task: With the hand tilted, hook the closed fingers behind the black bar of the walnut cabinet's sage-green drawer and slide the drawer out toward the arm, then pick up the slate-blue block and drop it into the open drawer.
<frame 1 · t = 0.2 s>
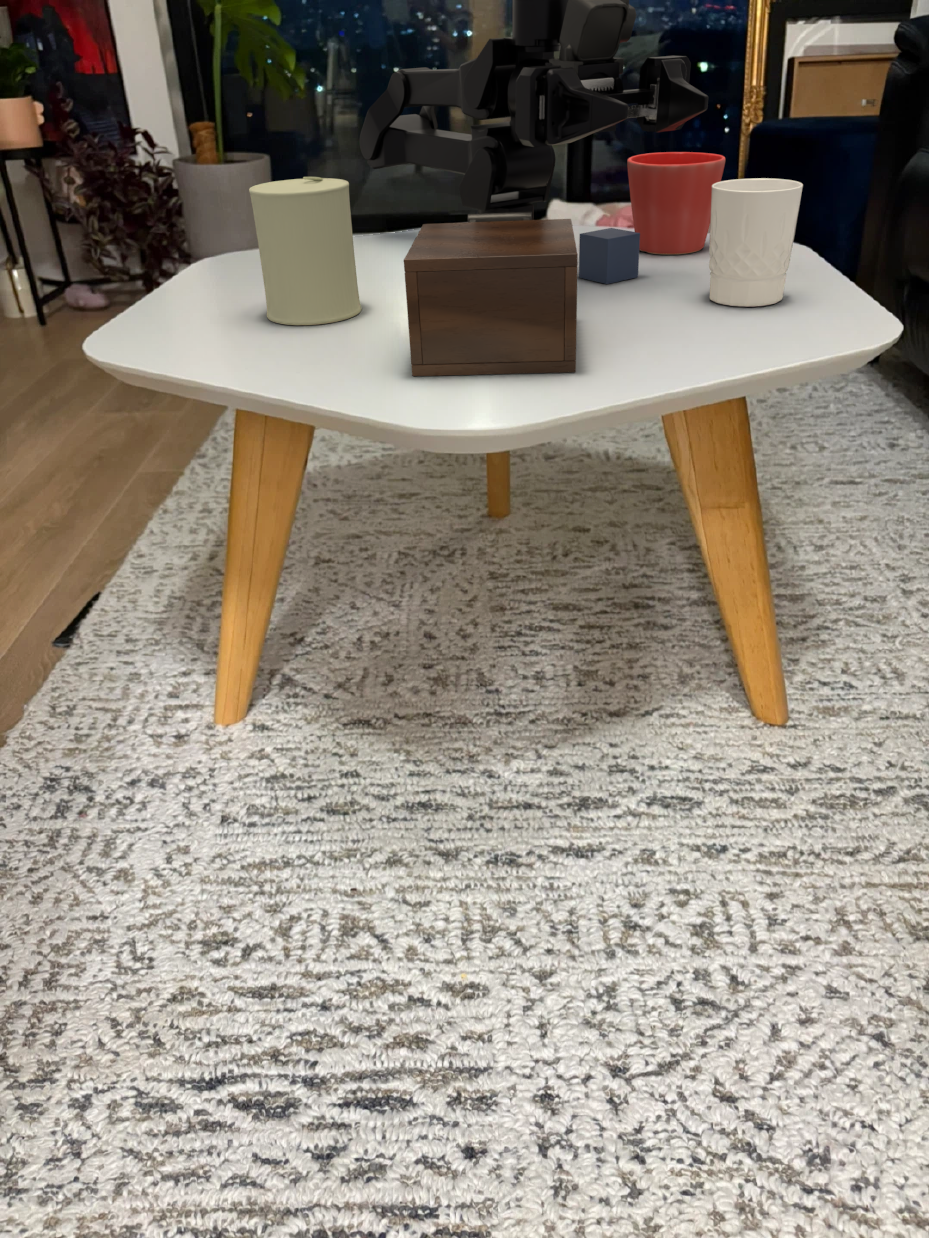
hand: (667, 107, 84), 17 cm above the table, tool horizontal, fingers open, 9 cm apart
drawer: (497, 272, 86), point 5 cm above the table, slide at 3.0 cm
cabinet: (496, 347, 82), on the table
white cup: (744, 300, 93), on the table
can: (314, 315, 95), on the table
flower pot: (670, 250, 114), on the table
block: (608, 277, 103), on the table
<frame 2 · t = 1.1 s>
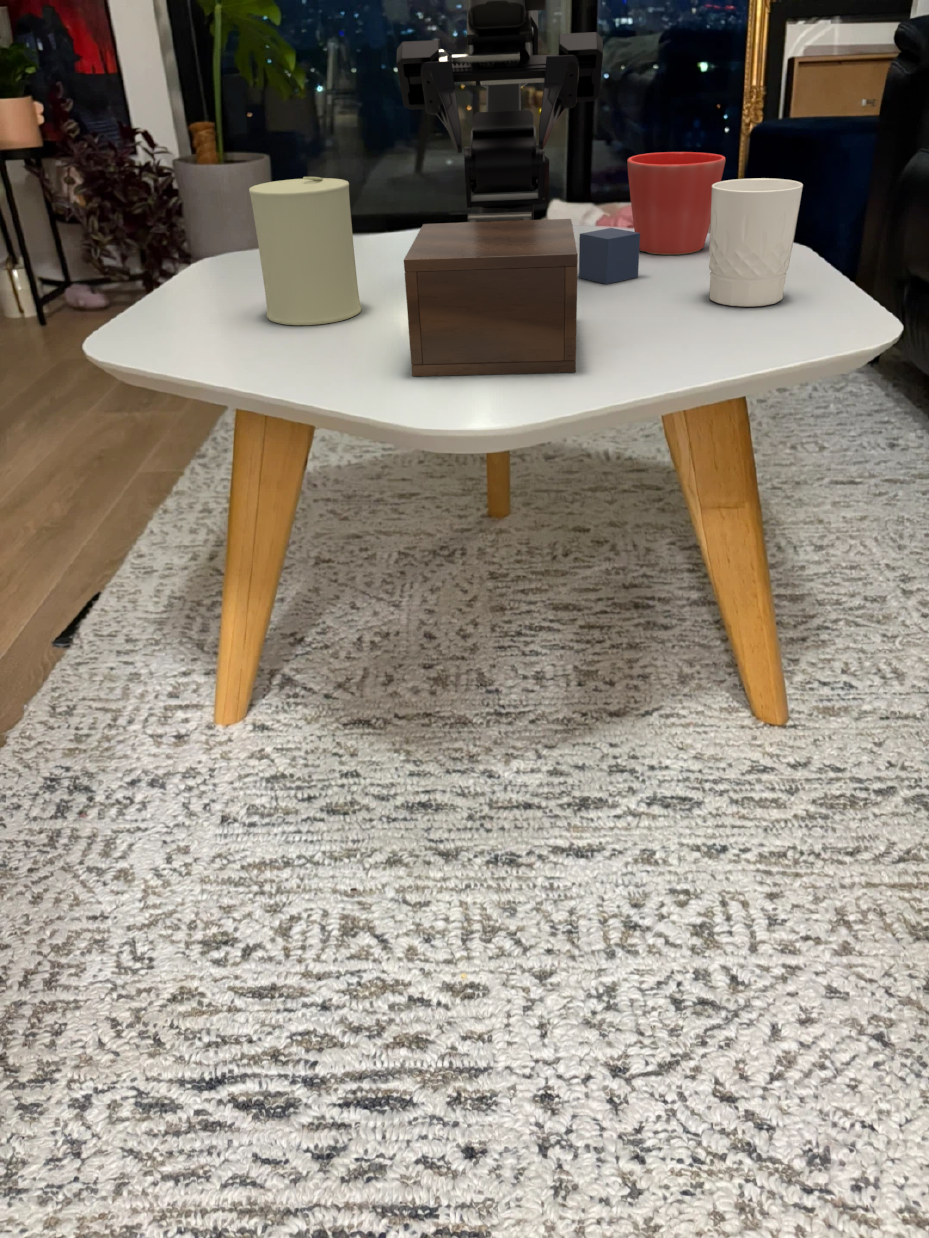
hand: (500, 148, 89), 14 cm above the table, tool tilted 45°, fingers open, 7 cm apart
nothing on the table moved.
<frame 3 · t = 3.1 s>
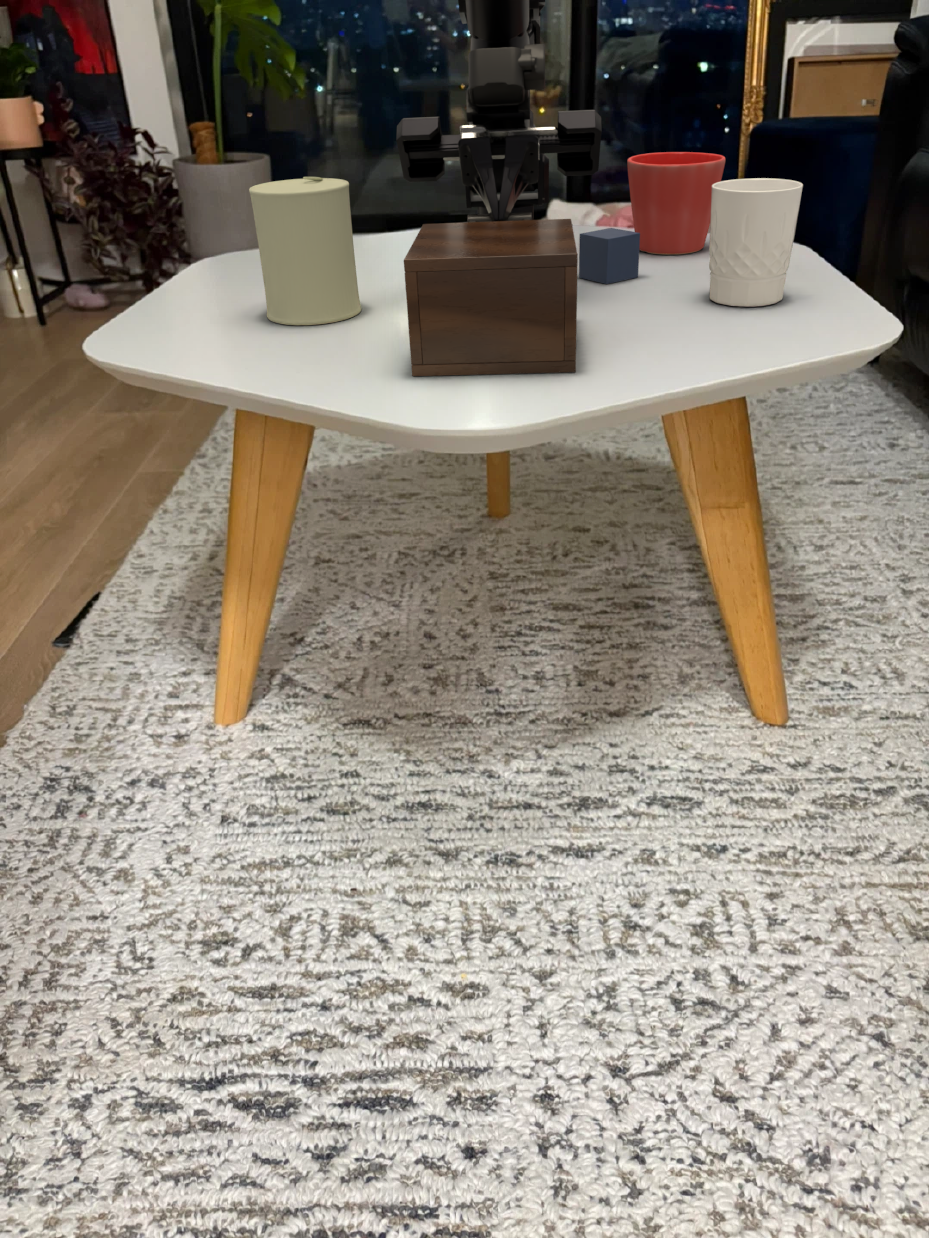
hand: (498, 224, 89), 8 cm above the table, tool tilted 45°, fingers closed, pressing on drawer
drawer: (497, 274, 86), point 5 cm above the table, slide at 2.6 cm, touching gripper
everything else where it was.
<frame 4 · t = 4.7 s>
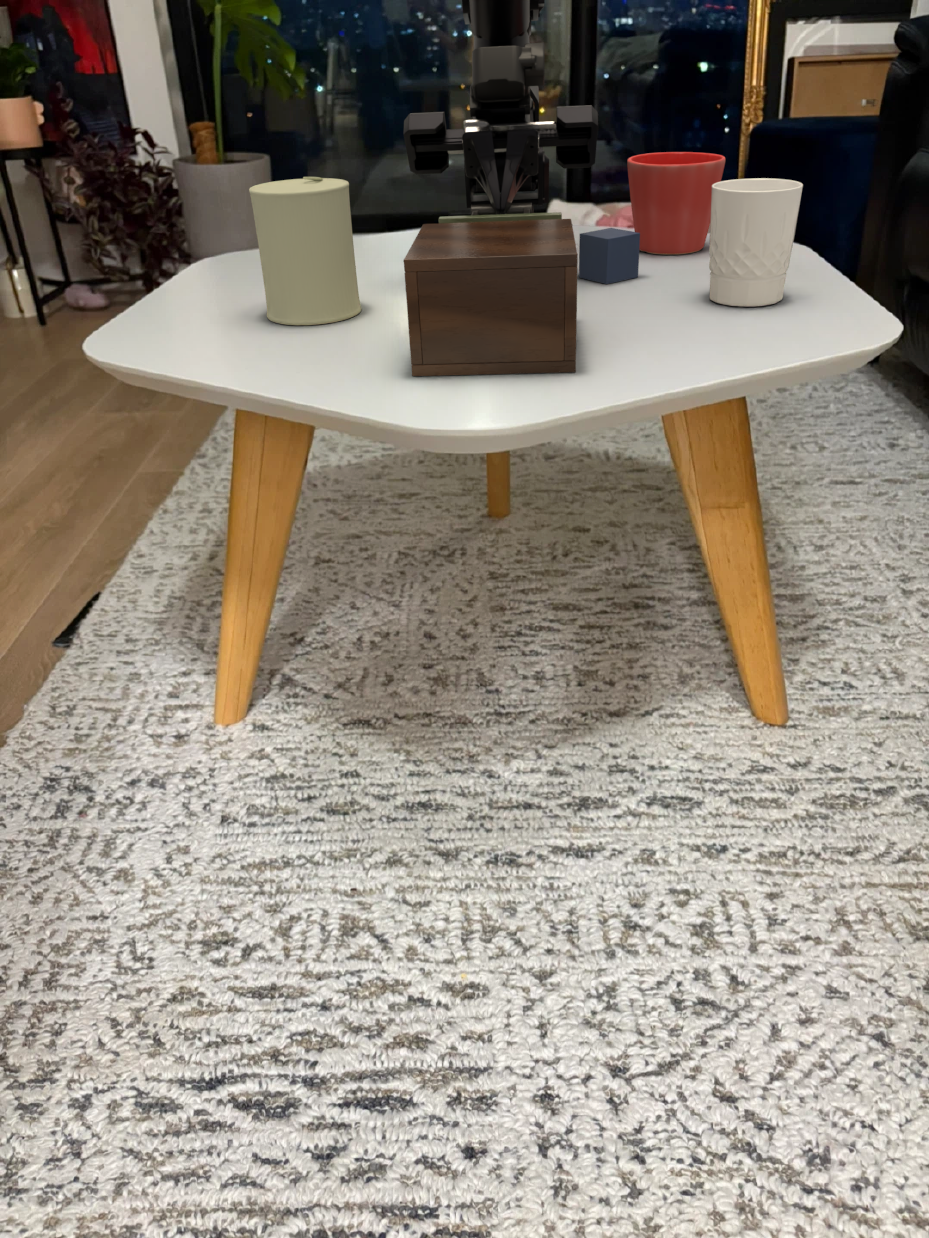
hand: (500, 213, 94), 8 cm above the table, tool tilted 45°, fingers closed, pressing on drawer
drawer: (499, 260, 91), point 5 cm above the table, slide at 8.3 cm, touching gripper
everything else where it was.
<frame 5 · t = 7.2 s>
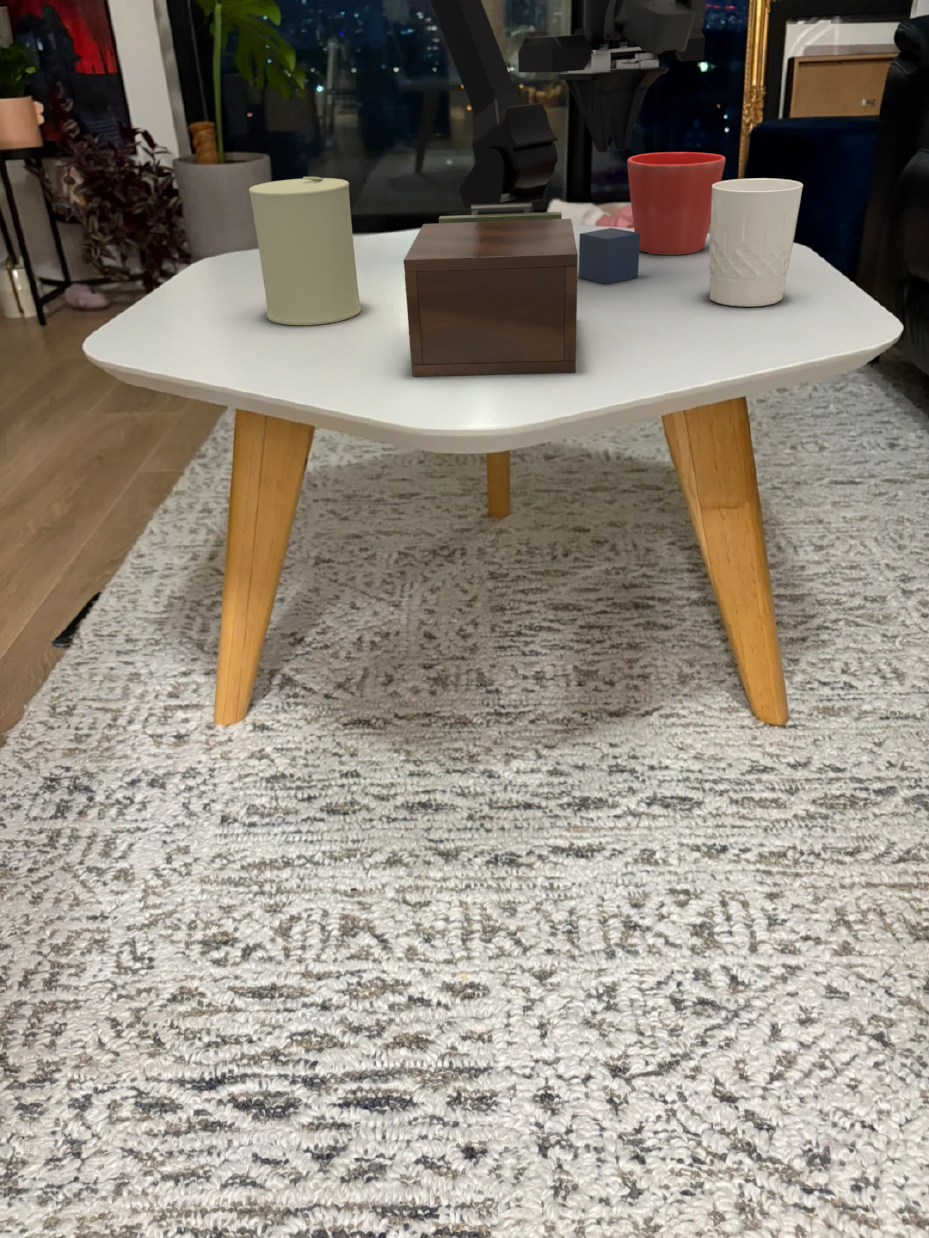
hand: (611, 151, 96), 12 cm above the table, tool pointing down, fingers closed
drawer: (499, 259, 91), point 5 cm above the table, slide at 8.5 cm
everything else where it was.
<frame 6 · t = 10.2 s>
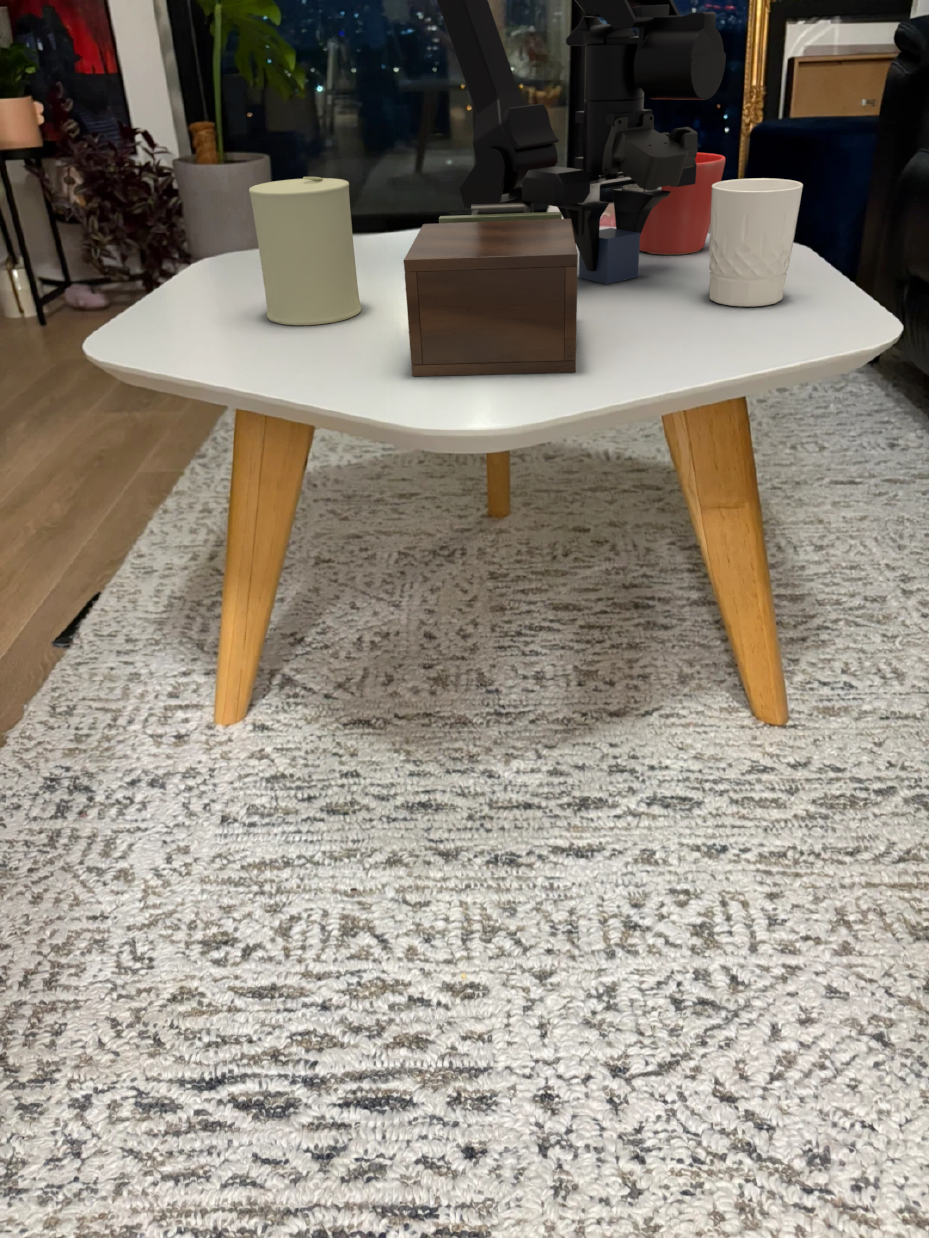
hand: (608, 267, 102), 1 cm above the table, tool pointing down, fingers closed on block, 4 cm apart
block: (608, 277, 103), on the table, touching gripper
everything else where it was.
when the fingers open (8 cm above the table, at t = 14.8 s): block drops 5 cm, resting on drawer.
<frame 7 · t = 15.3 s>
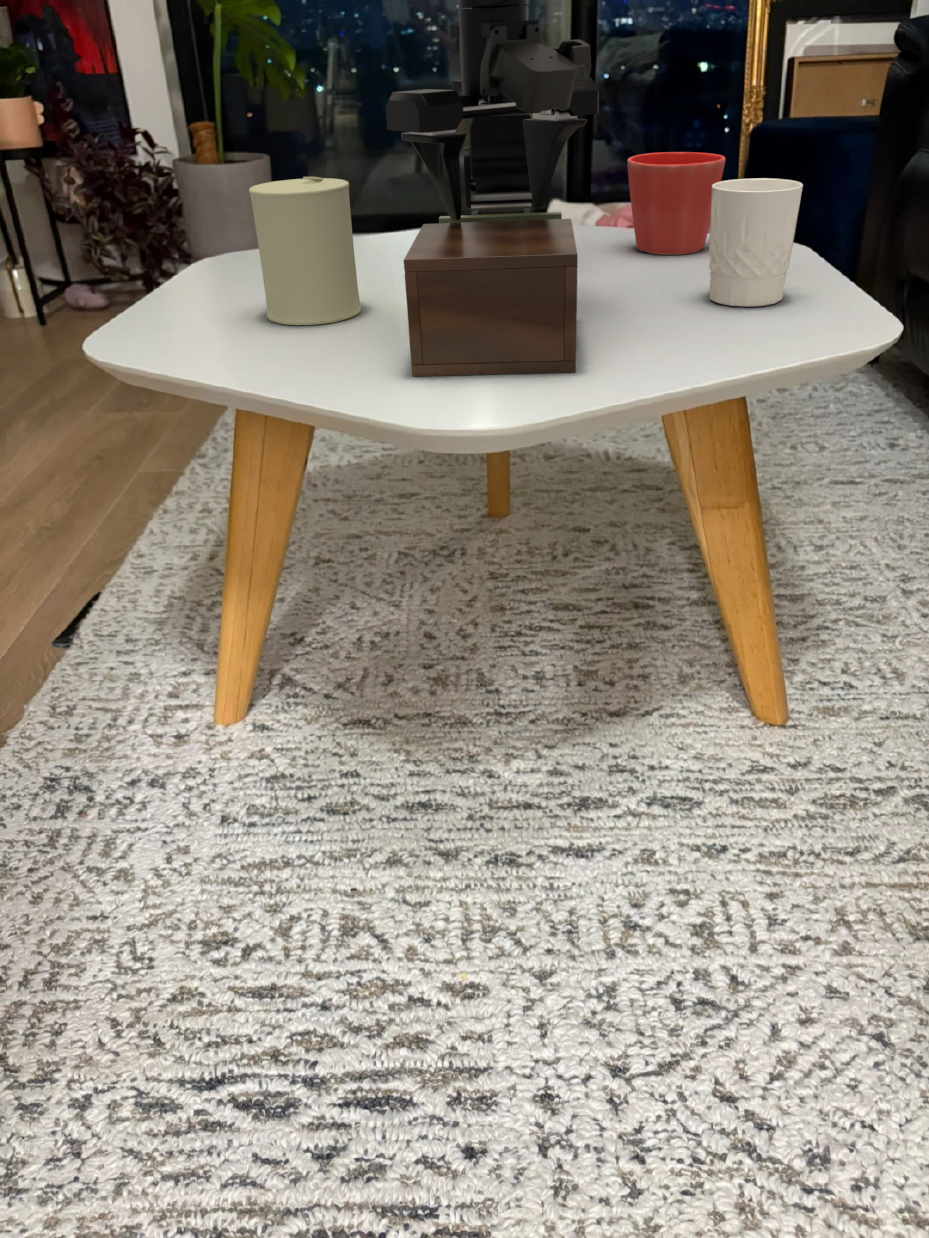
hand: (498, 212, 87), 9 cm above the table, tool pointing down, fingers open, 9 cm apart
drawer: (499, 259, 91), point 5 cm above the table, slide at 8.5 cm, touching block
block: (500, 290, 91), point 2 cm above the table, touching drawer
everything else where it was.
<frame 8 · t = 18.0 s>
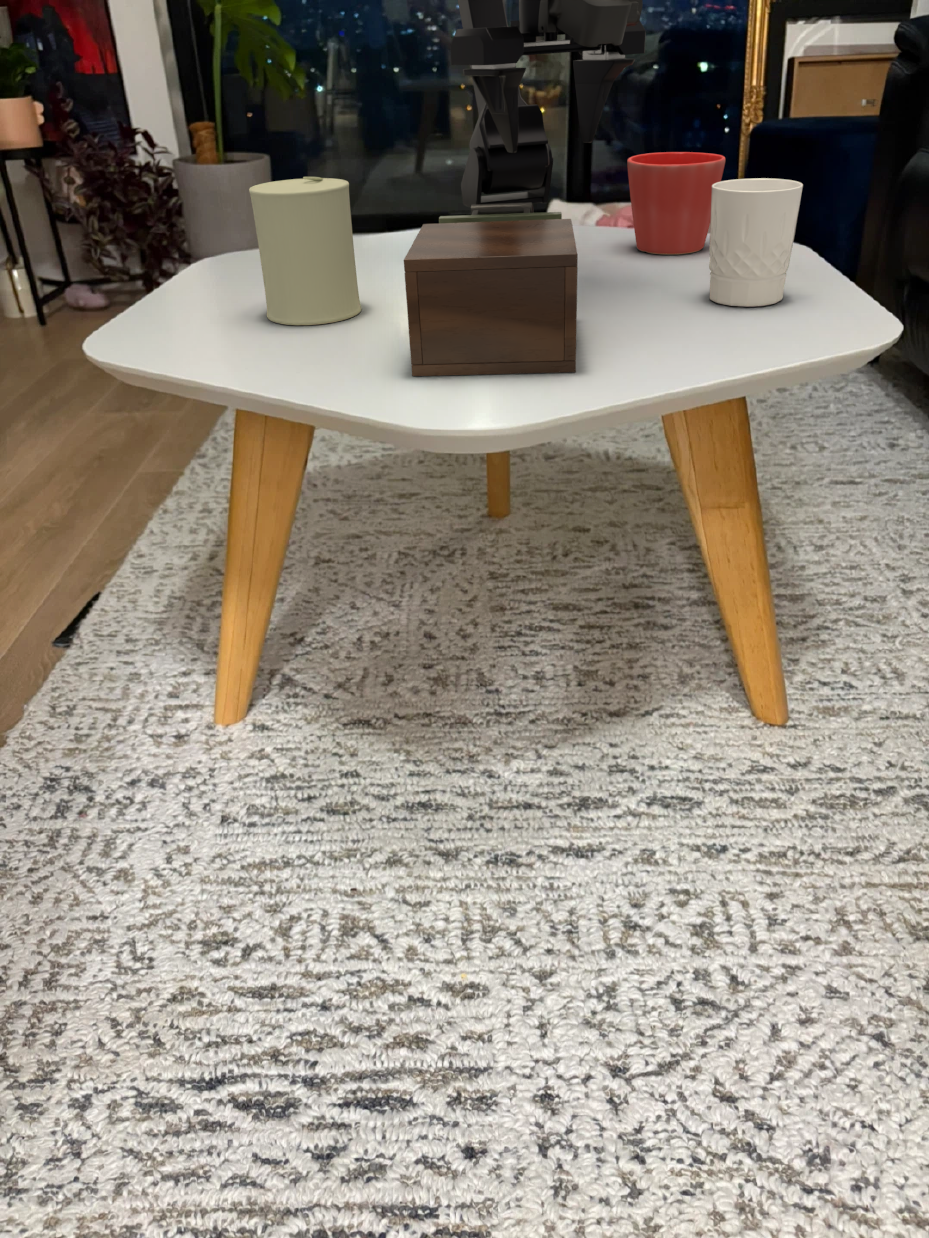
hand: (550, 147, 93), 13 cm above the table, tool pointing down, fingers open, 9 cm apart
nothing on the table moved.
at the end: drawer slide at 8.5 cm; block inside the target area in the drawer (0.1 cm from its centre), point 2.1 cm above the cabinet's base; block point 2.1 cm above the table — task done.
